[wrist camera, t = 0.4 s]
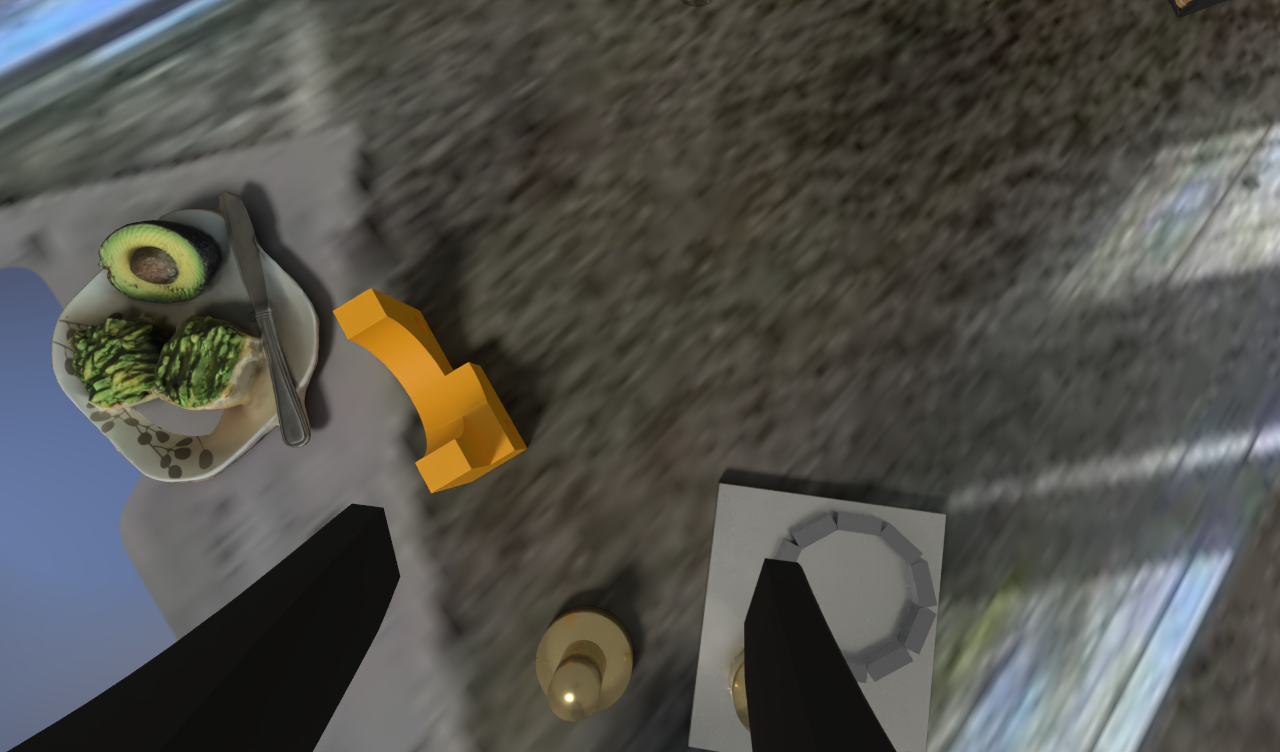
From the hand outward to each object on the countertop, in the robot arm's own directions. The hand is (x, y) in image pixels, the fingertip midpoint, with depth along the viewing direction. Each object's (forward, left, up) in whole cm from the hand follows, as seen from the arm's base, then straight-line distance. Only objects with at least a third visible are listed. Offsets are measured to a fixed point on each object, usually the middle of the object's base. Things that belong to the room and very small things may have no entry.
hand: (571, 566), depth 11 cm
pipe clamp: (+4, +13, -27) cm, 30 cm away
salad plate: (+5, +32, -27) cm, 42 cm away
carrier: (-8, -12, -26) cm, 30 cm away
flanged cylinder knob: (-12, +2, -26) cm, 29 cm away
